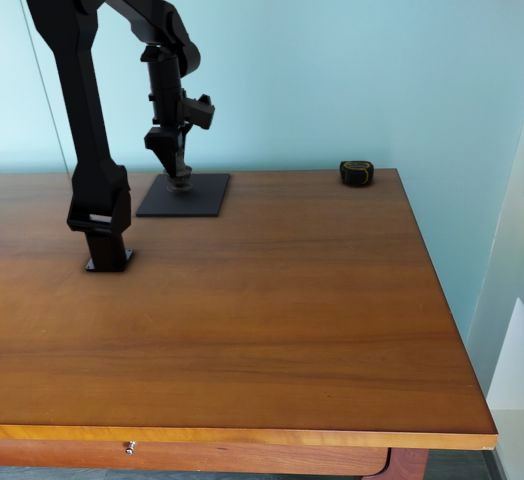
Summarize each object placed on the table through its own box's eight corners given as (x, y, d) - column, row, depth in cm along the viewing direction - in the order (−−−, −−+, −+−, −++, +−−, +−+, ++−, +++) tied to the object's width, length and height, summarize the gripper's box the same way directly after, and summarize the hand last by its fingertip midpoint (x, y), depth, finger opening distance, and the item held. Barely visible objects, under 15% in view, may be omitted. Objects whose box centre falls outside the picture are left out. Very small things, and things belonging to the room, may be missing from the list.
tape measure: (370, 175, 113) (372, 157, 111) (374, 188, 108) (376, 170, 106) (338, 175, 114) (339, 158, 111) (340, 188, 109) (342, 170, 106)
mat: (217, 216, 101) (217, 213, 100) (135, 216, 102) (135, 213, 101) (229, 175, 116) (229, 173, 116) (158, 176, 117) (158, 173, 117)
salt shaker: (192, 180, 111) (185, 120, 103) (196, 191, 106) (188, 129, 98) (164, 183, 110) (155, 123, 102) (166, 194, 105) (157, 132, 98)
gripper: (201, 98, 88) (210, 189, 98) (216, 72, 102) (223, 153, 112) (136, 100, 89) (151, 189, 99) (160, 73, 103) (171, 154, 113)
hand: (177, 170), depth 106 cm, fingers closed on salt shaker, 7 cm apart
